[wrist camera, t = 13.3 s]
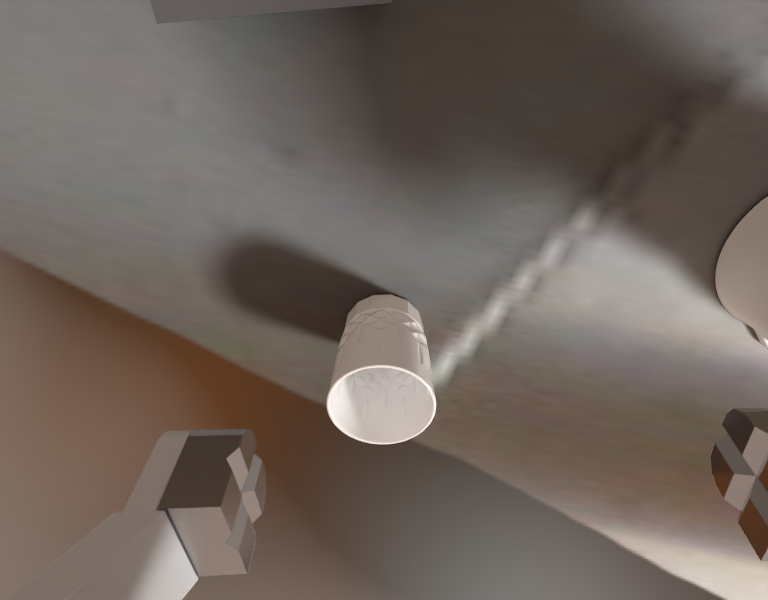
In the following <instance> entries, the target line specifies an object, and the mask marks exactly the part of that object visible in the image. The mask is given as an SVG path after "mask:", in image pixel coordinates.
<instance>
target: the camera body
mask: <svg viewBox="0 0 768 600" xmlns="http://www.w3.org/2000/svg"><path fill="white" fill-rule="evenodd" d="M384 3H392V0H151V4H152V7H153V11H154V14H155V18H156V22H157V24H158V23H169V22H180V21H192V20H203V19H214V18H226V17H237V16H248V15H260V14H271V13H282V12H294V11H305V10H316V9H328V8H339V7H350V6H362V5H373V4H384Z"/></svg>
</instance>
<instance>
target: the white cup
mask: <svg viewBox="0 0 768 600" xmlns="http://www.w3.org/2000/svg"><path fill="white" fill-rule="evenodd" d="M327 410H328V414H329V416H330V418H331V420H332V421H333V423H334V424H335V425H336V426H337V427H338V428H339V429H340V430H341V431H342V432H344V433H345V434H347V435H348V436H350V437H352V438H354V439H357V440H360V441H363V442H367V443H372V444H392V443H398V442H402V441H406V440H408V439H411V438H413V437H415V436H417V435H418V434H420V433H421V432H422V431H424V430H425V429H426V428H427V427H428V425H429V424H430V423H431V421H432V419H433V417H434V415H435V411H436V399H435V393H434V386H433V379H432V372H431V365H430V358H429V352H428V347H427V341H426V337H425V335H424V328H423V324H422V320H421V317H420V314H419V311H418V310H417V309H416V308H415V307H414V306H413V305H412V304H411V303H410V302H409V301H407V300H405V299H402V298H400V297H397V296H394V295H391V294H387V295H372V296H370V297H368V298H366V299H363V300H361V301H359V302H357V304H356V305H355V306H354V307H353V308H352V310H351V311H350V312H349V313H348V315H347V320H346V325H345V329H344V333H343V335H342V337H341V341H340V344H339V348H338V352H337V356H336V361H335V365H334V370H333V374H332V379H331V383H330V388H329V392H328V396H327Z"/></svg>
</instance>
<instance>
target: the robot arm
mask: <svg viewBox="0 0 768 600" xmlns="http://www.w3.org/2000/svg"><path fill="white" fill-rule="evenodd" d="M715 283H716V290H717V293H718V296H719V299H720V301H721V303H722V304H723V306H724V307H725V308H726V309H727V310H728V311H729V312H730V313H731V314H732V315H733V316H735V317H736V318H738V319H739V320H741V321H743V322H744V323H746V324H747V325H749V326H750V327H751V328H753V329H754V331H755V333H756V335H757V337H758V339H759V340H760V342H761V343H762V344H763V345H764V346H765V347H766V348H767V349H768V196H767V197H766V198H764V199H763V200H762V201H761V202H759V203H758V204H757V205H756V206H755V207H754V208H753V209H752V210H751V211H749V212H748V213H747V215H746V216H745V217H744V218H743V219H742V220H741V221H740V222H739V223H738V225H737V226H736V227H735V229H734V230H733V231H732V233H731V234H730V236H729V238H728V239H727V241H726V243H725V245H724V247H723V249H722V251H721V253H720V256H719V259H718V263H717V267H716V275H715ZM722 426H723V428H724V429H725V430H726V432H727V434H726V435H725V436H723V437H722V438H721V439H719V440H718V441H717V442H715V443H714V447H713V450H712V453H711V456H710V460H711V472H712V475H713V478H714V481H715V484H716V486H717V488H718V490H719V491H720V493H721V495H722V497H723V498H724V499H725V500H726V501H728V502H729V503H730V504H732V505H733V506H735V507H736V508H738V509H739V510H740V515H739V520H738V524H739V525H740V527H741V529H742V530H743V532H744V534H745V535H746V537H747V539H748V540H749V542H750V544H751V545H752V547H753V549H754V550H755V552H756V554H757V555H758V557H759V559H760V560H761V561H768V407H750V408H733V409H731V410H730V411H729V412H728V413H727V414H726V415H725V418H724V420H723V423H722ZM256 445H257V442H256V439H255V437H254V434H253V431H252V430H248V429H237V430H194V431H166V432H165V433H164V434H163V435H162V436H161V437H160V438H159V439H158V441H157V443H156V445H155V447H154V449H153V451H152V454H151V455H150V457H149V460H148V462H147V464H146V466H145V468H144V470H143V472H142V474H141V476H140V478H139V480H138V482H137V484H136V486H135V488H134V490H133V492H132V494H131V496H130V498H129V500H128V502H127V504H126V507H125V508H124V510H123V512H114V513H113V514H111V515H110V516H109V517H108V518H107V519H105V520H104V521H103V522H102V523H101V524H99V525H98V526H97V527H96V528H94V529H93V530H92V531H91V532H90V533H88V534H87V535H86V536H85V537H83V538H82V539H81V540H80V541H79V542H77V543H76V544H75V545H74V546H73V547H71V548H70V549H69V550H68V551H66V552H65V553H64V554H63V555H61V556H60V557H59V558H58V559H57V560H56V561H54V562H53V563H52V564H51V565H49V566H48V567H47V568H46V569H44V570H43V571H42V572H41V573H40V574H38V575H37V576H36V577H35V578H34V579H32V580H31V581H30V582H29V583H27V584H26V585H25V586H24V587H23V588H21V589H20V590H19V591H18V592H17V593H15V594H14V595H13V596H12V597H10V598H9V599H8V600H182V599H183V598H184V596H185V595H186V594H187V593H188V592H189V590H190V589H191V588H192V587H193V585H194V584H195V583H196V582H197V580H198V577H197V576H213V575H230V574H247V573H248V569H249V565H250V561H251V557H252V552H253V548H254V544H255V540H256V534H255V532H254V529H253V526H252V523H253V522H254V521H255V520H256V519H257V518H258V517H259V516H260V515H261V514H262V511H263V506H264V502H265V494H266V475H265V468H264V465H263V462H262V460H261V459H260V458H258V457H257V456H256V455H254V452H255V448H256Z"/></svg>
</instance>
